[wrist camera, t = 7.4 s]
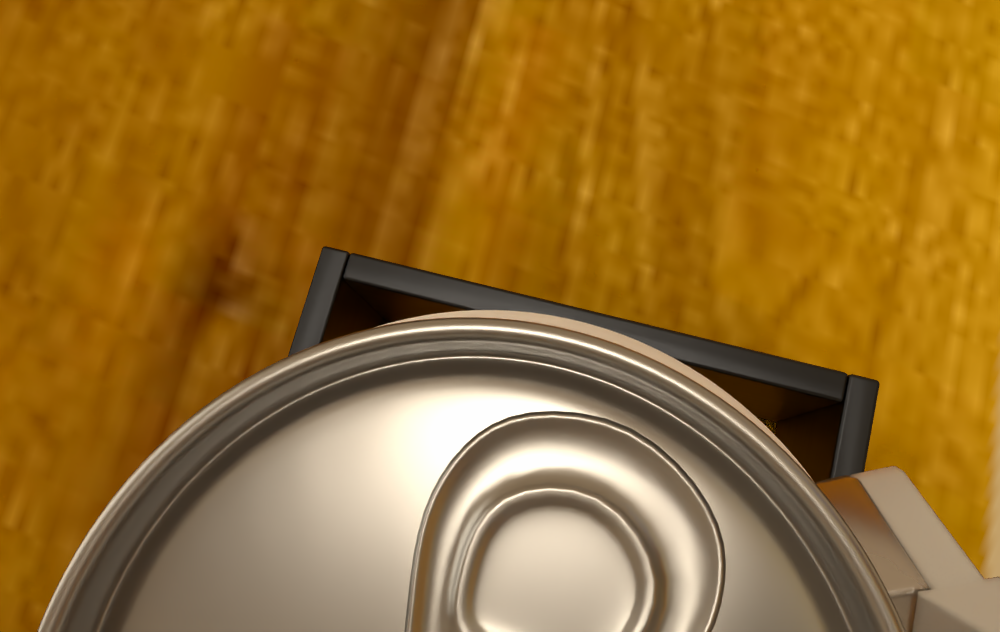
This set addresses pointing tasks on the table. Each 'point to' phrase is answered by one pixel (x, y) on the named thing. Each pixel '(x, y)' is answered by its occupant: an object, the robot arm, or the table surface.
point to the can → (472, 499)
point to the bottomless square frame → (738, 371)
